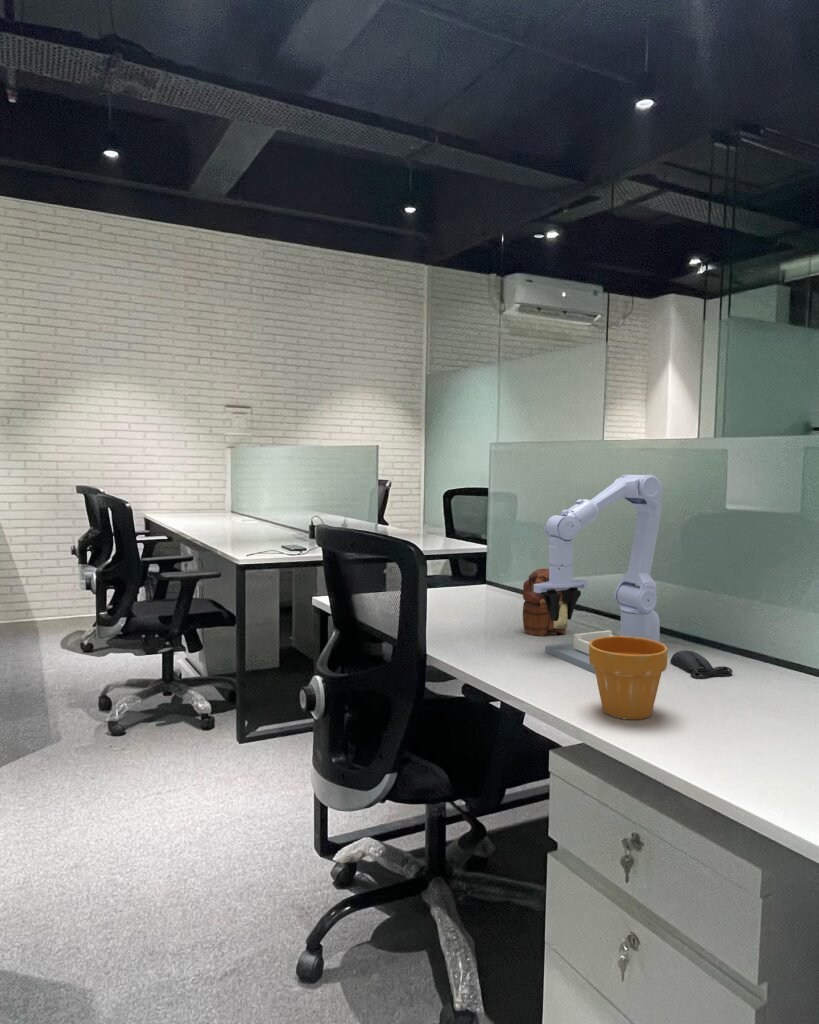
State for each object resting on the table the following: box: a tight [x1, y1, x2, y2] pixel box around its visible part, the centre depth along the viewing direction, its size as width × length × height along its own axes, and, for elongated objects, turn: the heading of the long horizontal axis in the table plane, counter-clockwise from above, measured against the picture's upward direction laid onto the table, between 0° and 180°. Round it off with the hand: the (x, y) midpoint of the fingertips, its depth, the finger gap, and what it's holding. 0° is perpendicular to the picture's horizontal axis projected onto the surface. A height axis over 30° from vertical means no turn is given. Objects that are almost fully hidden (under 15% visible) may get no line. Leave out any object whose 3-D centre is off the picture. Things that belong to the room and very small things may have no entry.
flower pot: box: [589, 635, 669, 720], centre depth 135 cm, size 14×14×13 cm
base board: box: [544, 641, 596, 675], centre depth 171 cm, size 16×24×4 cm, turn 23°
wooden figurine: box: [522, 568, 567, 637], centre depth 197 cm, size 12×6×18 cm, turn 100°
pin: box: [554, 602, 569, 630], centre depth 176 cm, size 3×3×6 cm
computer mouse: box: [669, 650, 733, 680], centre depth 164 cm, size 10×15×4 cm
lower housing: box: [573, 629, 614, 654], centre depth 172 cm, size 11×10×4 cm
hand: (560, 619), depth 176 cm, fingers closed on pin, 3 cm apart
